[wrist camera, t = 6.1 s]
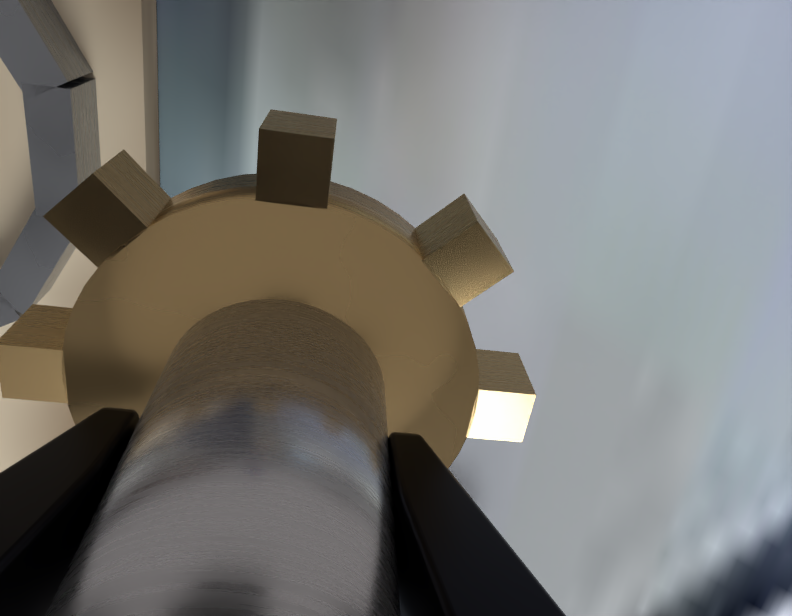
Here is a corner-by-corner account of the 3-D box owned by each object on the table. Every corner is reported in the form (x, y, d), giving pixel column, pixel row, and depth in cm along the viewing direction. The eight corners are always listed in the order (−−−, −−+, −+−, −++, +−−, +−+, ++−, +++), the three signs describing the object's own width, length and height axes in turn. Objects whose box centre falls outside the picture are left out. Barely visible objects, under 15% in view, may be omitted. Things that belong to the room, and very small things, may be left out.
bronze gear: (57, 511, 12) (-184, 950, 7) (5, 72, 8) (-595, 249, 3) (467, 539, 13) (547, 944, 7) (573, 151, 9) (864, 395, 4)
